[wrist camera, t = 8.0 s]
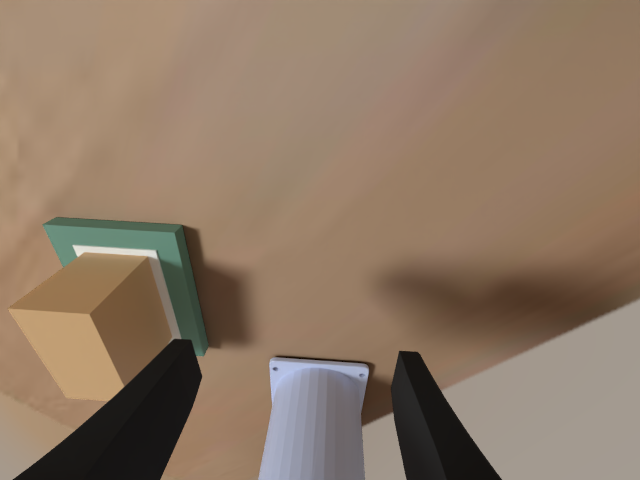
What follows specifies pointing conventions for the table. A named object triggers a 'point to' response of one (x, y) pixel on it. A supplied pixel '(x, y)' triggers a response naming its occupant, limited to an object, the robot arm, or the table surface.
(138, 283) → the block
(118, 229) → the board
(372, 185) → the table surface
